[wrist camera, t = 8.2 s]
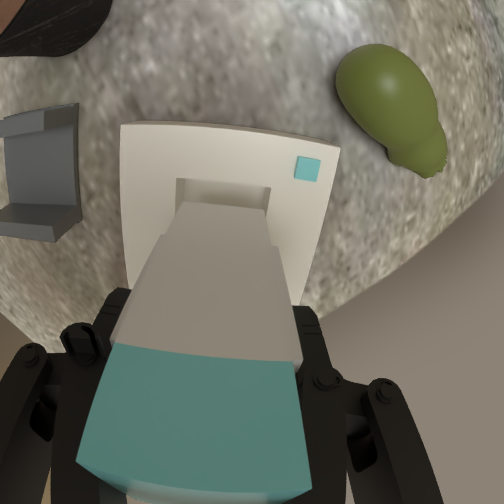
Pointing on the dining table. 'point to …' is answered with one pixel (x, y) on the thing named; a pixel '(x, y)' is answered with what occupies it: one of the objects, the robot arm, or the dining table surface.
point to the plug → (202, 374)
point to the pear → (394, 106)
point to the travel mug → (48, 25)
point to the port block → (225, 185)
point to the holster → (41, 173)
